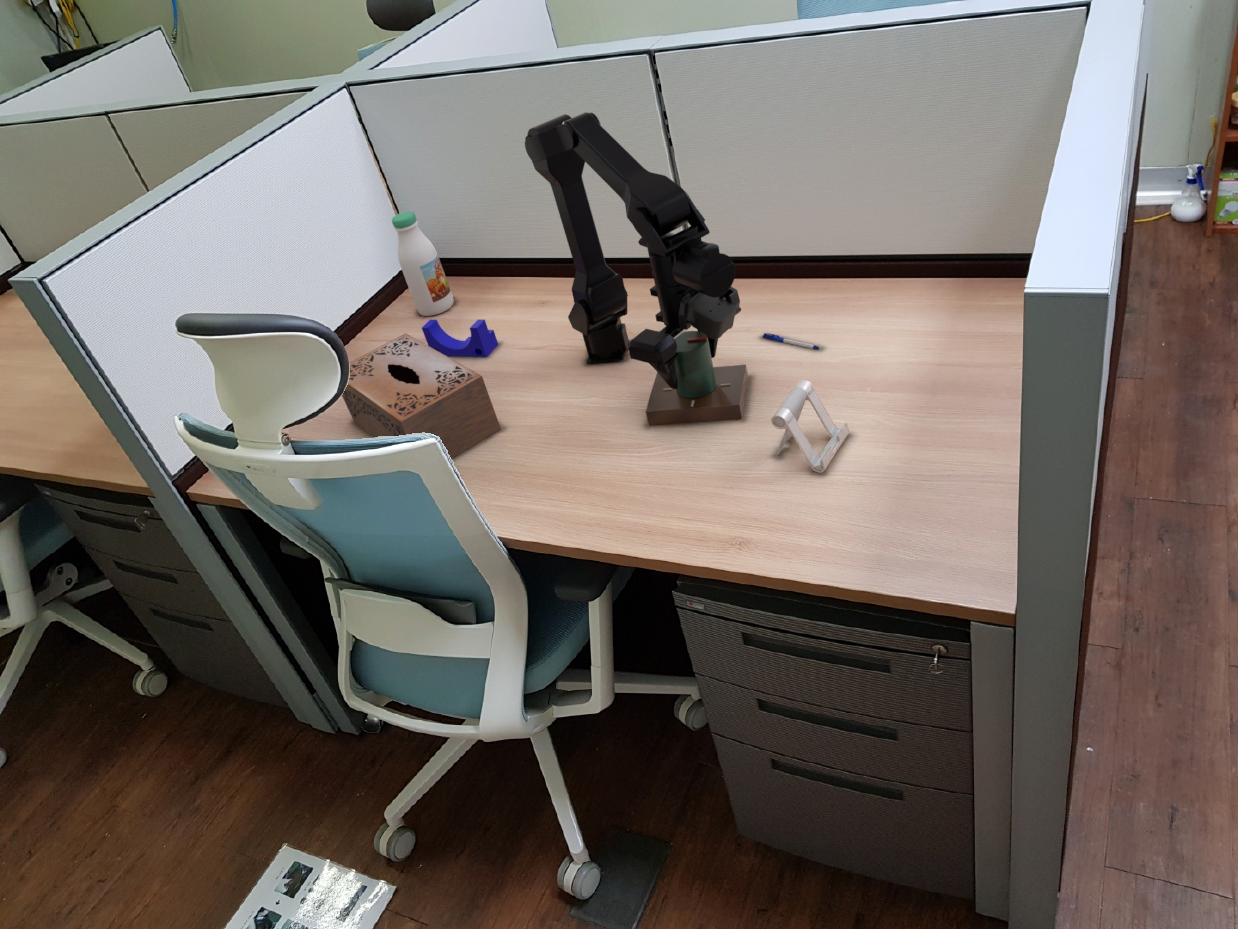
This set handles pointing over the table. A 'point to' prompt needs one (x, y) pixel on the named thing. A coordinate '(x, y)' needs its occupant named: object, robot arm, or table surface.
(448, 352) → the cable clip
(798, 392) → the tablet stand
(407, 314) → the table surface
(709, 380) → the rotary knob
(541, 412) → the table surface
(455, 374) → the tissue box cover
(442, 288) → the milk bottle
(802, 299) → the table surface
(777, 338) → the ballpoint pen
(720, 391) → the dial knob base plate
